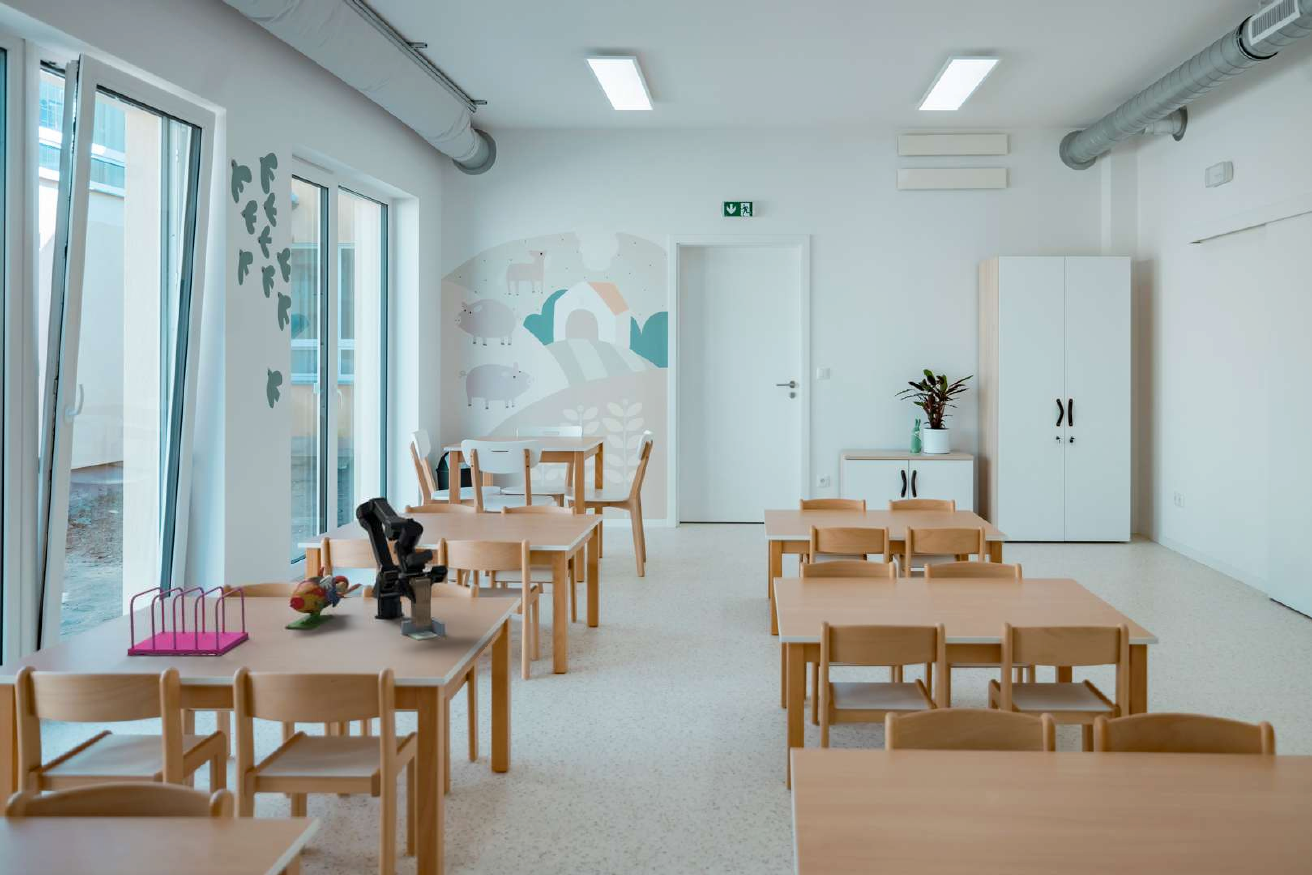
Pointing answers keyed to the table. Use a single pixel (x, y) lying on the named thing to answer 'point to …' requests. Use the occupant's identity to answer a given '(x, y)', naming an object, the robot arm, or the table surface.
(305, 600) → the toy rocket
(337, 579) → the kendama
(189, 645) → the file sorter
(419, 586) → the walnut block
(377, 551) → the robot arm
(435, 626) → the grey corner fixture
